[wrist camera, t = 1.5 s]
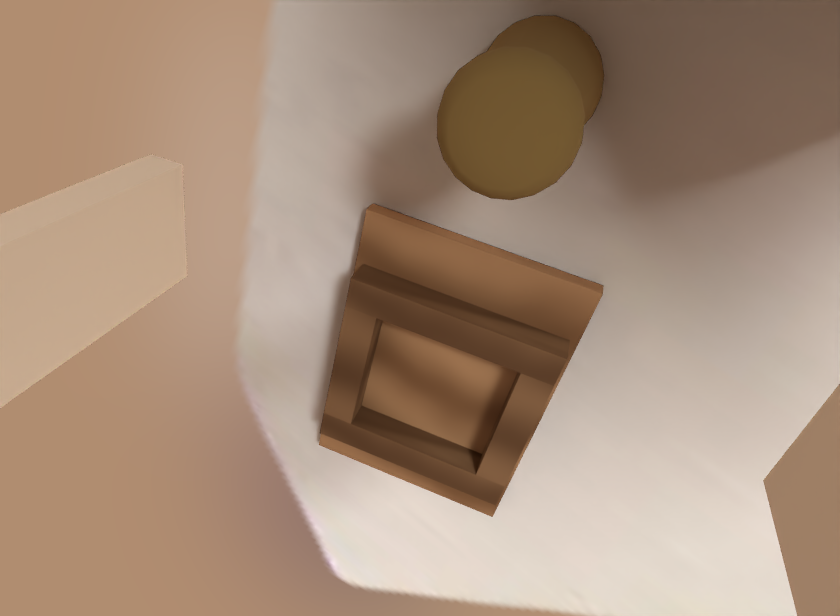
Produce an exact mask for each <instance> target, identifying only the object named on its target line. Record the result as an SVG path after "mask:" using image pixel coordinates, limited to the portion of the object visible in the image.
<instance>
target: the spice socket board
mask: <svg viewBox="0 0 840 616" xmlns="http://www.w3.org/2000/svg"><path fill="white" fill-rule="evenodd" d="M602 294H603V285H600V284H597V283H594V282H592V281H589V280H586V279H583V278H580V277H578V276H575V275H572V274H569V273H566V272H564V271H561V270H558V269H555V268H552V267H550V266H547V265H544V264H541V263H538V262H536V261H533V260H530V259H527V258H524V257H522V256H519V255H516V254H513V253H510V252H508V251H505V250H502V249H499V248H496V247H493V246H491V245H488V244H485V243H482V242H479V241H477V240H474V239H471V238H468V237H465V236H463V235H460V234H457V233H454V232H451V231H449V230H446V229H443V228H440V227H437V226H435V225H432V224H429V223H426V222H423V221H421V220H418V219H415V218H412V217H409V216H407V215H404V214H401V213H398V212H395V211H393V210H390V209H387V208H384V207H381V206H379V205H376V204H372V205H371V206H370V207H368V208H367V210H366V215H365V220H364V225H363V230H362V234H361V239H360V244H359V249H358V254H357V259H356V264H355V269H354V274H353V277H352V278H351V281H350V286H349V291H348V295H347V300H346V305H345V310H344V315H343V320H342V325H341V330H340V335H339V340H338V345H337V350H336V355H335V360H334V365H333V370H332V375H331V380H330V385H329V390H328V395H327V400H326V405H325V410H324V415H323V420H322V425H321V430H320V433H321V437H320V441H319V445H320V446H323V447H325V448H328V449H330V450H332V451H335V452H337V453H340V454H342V455H345V456H347V457H349V458H352V459H354V460H357V461H359V462H361V463H364V464H366V465H369V466H371V467H373V468H376V469H378V470H381V471H383V472H385V473H388V474H390V475H393V476H395V477H398V478H400V479H402V480H405V481H407V482H410V483H412V484H414V485H417V486H419V487H422V488H424V489H426V490H429V491H431V492H434V493H436V494H438V495H441V496H443V497H446V498H448V499H450V500H453V501H455V502H458V503H460V504H463V505H465V506H467V507H470V508H472V509H475V510H477V511H479V512H482V513H484V514H487V515H489V516H491V517H493V515H494V513H495V511H496V509H497V507H498V505H499V503H500V501H501V498H502V496H503V494H504V492H505V490H506V488H507V486H508V484H509V482H510V480H511V478H512V476H513V474H514V472H515V470H516V468H517V466H518V464H519V462H520V460H521V458H522V456H523V454H524V452H525V450H526V448H527V446H528V444H529V442H530V440H531V438H532V436H533V434H534V432H535V430H536V428H537V426H538V424H539V422H540V420H541V418H542V416H543V414H544V412H545V410H546V408H547V406H548V404H549V402H550V400H551V397H552V395H553V393H554V391H555V389H556V387H557V385H558V383H559V381H560V379H561V377H562V375H563V373H564V371H565V369H566V367H567V365H568V363H569V361H570V359H571V357H572V355H573V353H574V351H575V349H576V347H577V345H578V343H579V341H580V339H581V337H582V335H583V333H584V331H585V329H586V327H587V325H588V323H589V321H590V319H591V317H592V315H593V313H594V311H595V309H596V307H597V305H598V303H599V301H600V299H601V297H602Z"/></svg>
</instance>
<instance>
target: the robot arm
mask: <svg viewBox="0 0 840 616" xmlns="http://www.w3.org/2000/svg"><path fill="white" fill-rule="evenodd" d="M185 277H187V255H186V230H185V206H184V181H183V164H180V163H177V162H174V161H171V160H168V159H165V158H162V157H159V156H156V155H152V154H150V155H147V156H145V157H142V158H140V159H137V160H135V161H132V162H130V163H127V164H124V165H122V166H119V167H117V168H115V169H112V170H109V171H107V172H104V173H102V174H99V175H97V176H94V177H92V178H90V179H87V180H84V181H82V182H79V183H77V184H74V185H72V186H69V187H67V188H65V189H62V190H59V191H57V192H54V193H52V194H49V195H47V196H44V197H42V198H39V199H37V200H34V201H31V202H29V203H26V204H24V205H21V206H19V207H16V208H14V209H11V210H9V211H7V212H4V213H2V214H0V408H1V407H3V406H4V405H5V404H7V403H8V402H10V401H11V400H12V399H14V398H15V397H17V396H18V395H20V394H21V393H22V392H24V391H25V390H27V389H28V388H30V387H31V386H32V385H34V384H35V383H37V382H38V381H39V380H41V379H42V378H44V377H45V376H47V375H48V374H49V373H51V372H52V371H53V370H55V369H56V368H58V367H59V366H61V365H62V364H64V363H65V362H66V361H68V360H69V359H71V358H72V357H74V356H75V355H76V354H78V353H79V352H80V351H82V350H83V349H85V348H86V347H88V346H89V345H90V344H92V343H93V342H95V341H96V340H98V339H99V338H100V337H102V336H103V335H105V334H106V333H107V332H109V331H110V330H112V329H113V328H114V327H116V326H117V325H119V324H120V323H122V322H123V321H125V320H126V319H127V318H129V317H130V316H132V315H133V314H135V313H136V312H137V311H139V310H140V309H142V308H143V307H144V306H146V305H147V304H149V303H150V302H152V301H153V300H154V299H156V298H157V297H159V296H160V295H161V294H163V293H164V292H166V291H167V290H168V289H170V288H171V287H173V286H174V285H176V284H177V283H178V282H180V281H181V280H183V279H184V278H185ZM763 481H764V485H765V489H766V493H767V497H768V501H769V505H770V509H771V513H772V517H773V521H774V525H775V529H776V533H777V536H778V540H779V544H780V548H781V552H782V556H783V560H784V564H785V568H786V572H787V576H788V580H789V584H790V588H791V592H792V596H793V600H794V604H795V608H796V612H797V616H840V384H839V385H838V387H837V388H836V389H835V390H834V392H833V393H832V394H831V396H830V397H829V398H828V399H827V401H826V402H825V403H824V404H823V406H822V407H821V408H820V409H819V411H818V412H817V413H816V414H815V416H814V417H813V418H812V420H811V421H810V422H809V423H808V425H807V426H806V427H805V428H804V430H803V431H802V432H801V433H800V435H799V436H798V437H797V439H796V440H795V441H794V442H793V444H792V445H791V446H790V447H789V449H788V450H787V451H786V452H785V454H784V455H783V456H782V458H781V459H780V460H779V461H778V463H777V464H776V465H775V466H774V468H773V469H772V470H771V471H770V473H769V474H768V475H767V476H766V478H765V479H764V480H763Z"/></svg>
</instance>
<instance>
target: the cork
mask: <svg viewBox="0 0 840 616" xmlns="http://www.w3.org/2000/svg"><path fill="white" fill-rule="evenodd" d="M603 81H604V71H603V66H602V60H601V55H600V53H599V51H598V49H597V48H596V46H595V44H594V42H593V40H592V39H591V37H590V36H589V35H588V34H587V33H586V32H585V31H583V30H582V29H581V28H580V27H579V26H578V25H577V24H575V23H574V22H571V21H568V20H565V19H563V18H560V17H557V16H533V17H530V18H527V19H524V20H521V21H518V22H515V23H514V24H512V25H511V26H510V27H509V28H507V29H506V30H505V31H503V32H502V33H501V34H499V35H498V36H497V38H496V39H495V41H494V42H493V44H492V45H491V46H490V48H489V49H488V51H487V52H485V53H482V54H480V55H478V56H477V57H475V58H474V59H473V60H471V61H470V62H469V63H467V64H466V65H465V66H463V67H462V68H461V69H459V70H458V71H457V73H456V74H455V76H454V77H453V79H452V80H451V82H450V83H449V84H448V86H447V87H446V89H445V90H444V94H443V97H442V100H441V103H440V107H439V110H438V114H437V139H438V143H439V146H440V149H441V153H442V156H443V159H444V161H445V162H446V164H447V165H448V167H449V168H450V170H451V171H452V173H453V174H454V176H455V177H456V178H457V179H458V180H460V181H461V182H462V183H463V184H465V185H466V186H467V187H468V188H469V189H471V190H472V191H475V192H477V193H479V194H482V195H484V196H487V197H489V198H494V199H506V200H514V199H519V198H523V197H528V196H532V195H535V194H537V193H538V192H540V191H542V190H544V189H545V188H547V187H549V186H551V185H552V184H554V183H556V182H557V181H558V179H559V178H560V177H561V176H562V175H563V174H564V173H565V172H566V171H567V170H568V169H569V167H570V166H571V165H572V163H573V161H574V159H575V157H576V155H577V152H578V150H579V148H580V146H581V144H582V137H583V129H584V125H585V124H586V122H587V121H588V120H589V119H590V118H591V117H592V116H593V114H594V111H595V109H596V107H597V105H598V103H599V101H600V98H601V96H602V88H603Z"/></svg>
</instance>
